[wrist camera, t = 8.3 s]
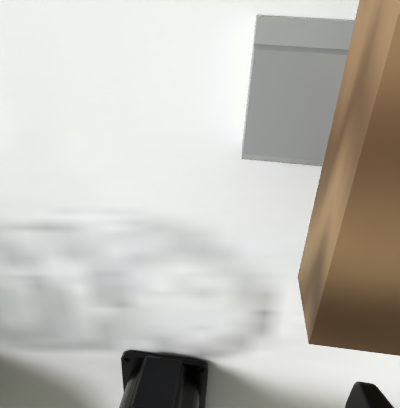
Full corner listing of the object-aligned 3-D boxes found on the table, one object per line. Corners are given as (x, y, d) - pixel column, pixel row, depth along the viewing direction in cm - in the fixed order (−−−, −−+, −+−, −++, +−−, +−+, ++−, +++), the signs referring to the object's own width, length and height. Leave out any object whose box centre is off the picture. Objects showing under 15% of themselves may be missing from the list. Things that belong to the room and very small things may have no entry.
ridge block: (444, 162, 18) (490, 200, 15) (242, 144, 19) (240, 176, 16) (497, 28, 15) (569, 36, 12) (256, 14, 16) (257, 17, 13)
